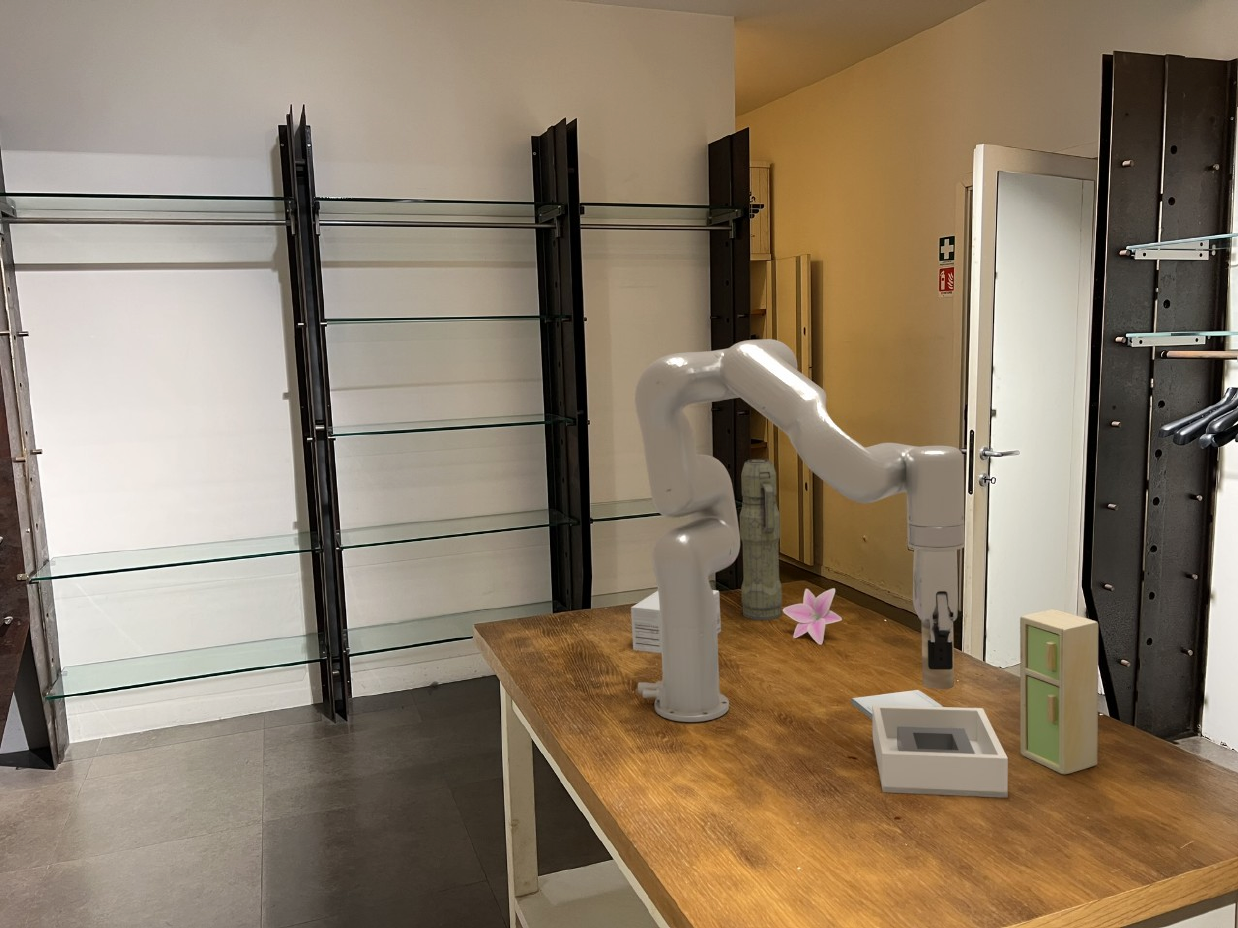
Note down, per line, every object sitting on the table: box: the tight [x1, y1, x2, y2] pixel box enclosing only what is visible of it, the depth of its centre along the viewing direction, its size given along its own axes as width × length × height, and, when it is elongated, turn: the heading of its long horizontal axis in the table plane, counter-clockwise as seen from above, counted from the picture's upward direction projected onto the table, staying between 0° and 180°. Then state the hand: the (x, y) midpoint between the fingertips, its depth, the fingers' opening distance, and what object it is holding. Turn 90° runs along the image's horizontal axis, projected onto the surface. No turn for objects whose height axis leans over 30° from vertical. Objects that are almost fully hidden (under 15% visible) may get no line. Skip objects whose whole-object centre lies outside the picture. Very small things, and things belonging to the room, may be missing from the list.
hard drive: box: [850, 689, 944, 722], centre depth 156 cm, size 2×8×12 cm
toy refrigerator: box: [1019, 608, 1099, 775], centre depth 133 cm, size 8×7×21 cm
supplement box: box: [630, 589, 722, 654], centre depth 195 cm, size 17×13×9 cm
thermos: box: [739, 458, 783, 621], centre depth 209 cm, size 9×12×35 cm
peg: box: [920, 615, 955, 690], centre depth 132 cm, size 4×4×10 cm
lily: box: [782, 587, 843, 645], centre depth 194 cm, size 12×12×10 cm
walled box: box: [872, 705, 1009, 799], centre depth 134 cm, size 16×17×6 cm
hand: (937, 661), depth 132 cm, fingers closed on peg, 4 cm apart
